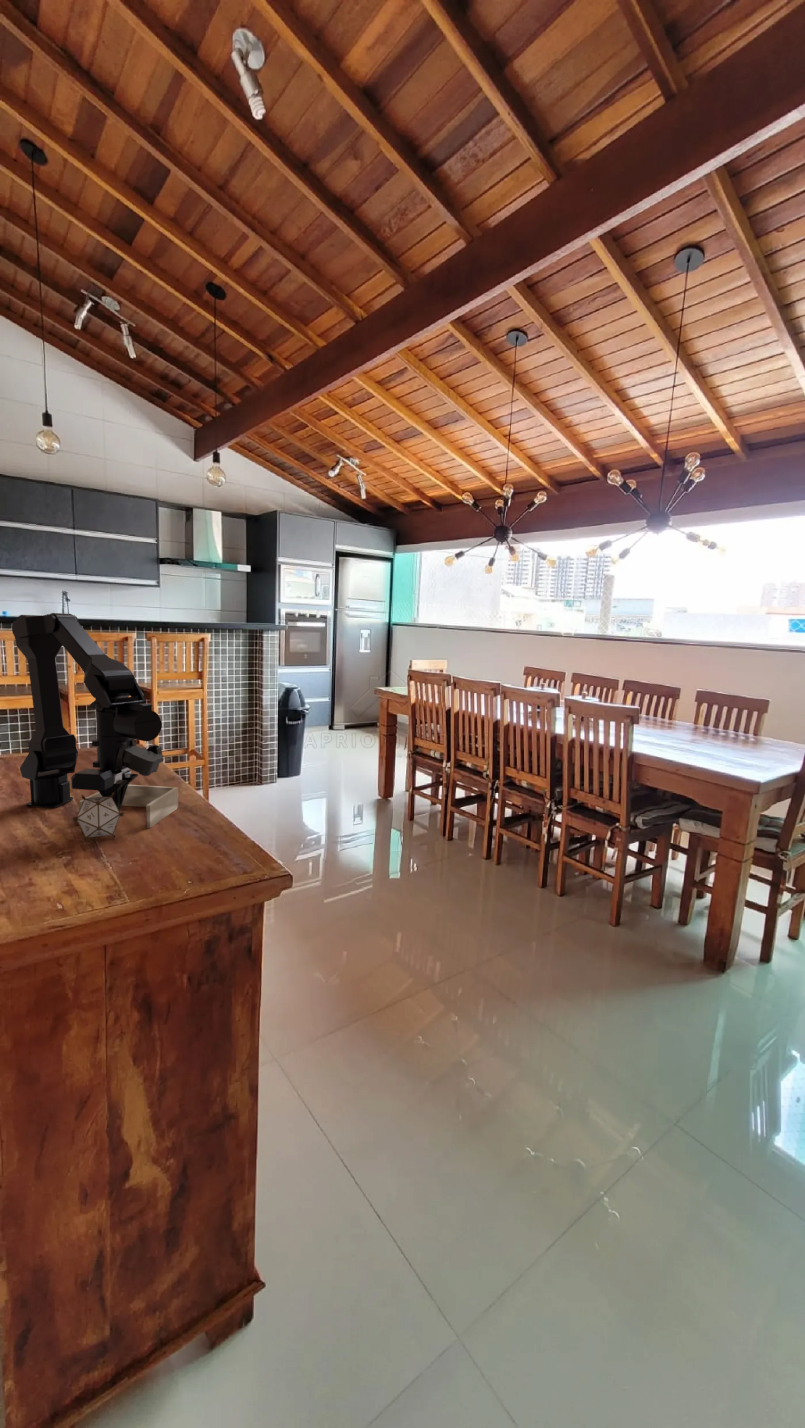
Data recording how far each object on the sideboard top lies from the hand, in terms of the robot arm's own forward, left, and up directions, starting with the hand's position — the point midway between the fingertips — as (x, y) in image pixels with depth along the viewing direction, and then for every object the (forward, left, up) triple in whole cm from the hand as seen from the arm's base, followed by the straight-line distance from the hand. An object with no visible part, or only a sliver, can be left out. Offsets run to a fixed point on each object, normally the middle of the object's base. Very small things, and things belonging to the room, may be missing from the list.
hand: (116, 812), depth 113 cm
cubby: (0, +5, -2) cm, 6 cm away
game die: (+1, -7, -3) cm, 7 cm away
